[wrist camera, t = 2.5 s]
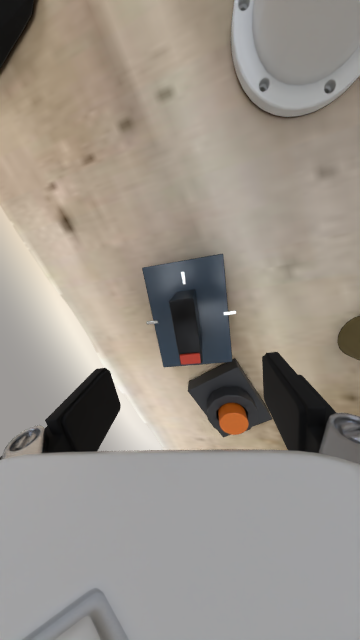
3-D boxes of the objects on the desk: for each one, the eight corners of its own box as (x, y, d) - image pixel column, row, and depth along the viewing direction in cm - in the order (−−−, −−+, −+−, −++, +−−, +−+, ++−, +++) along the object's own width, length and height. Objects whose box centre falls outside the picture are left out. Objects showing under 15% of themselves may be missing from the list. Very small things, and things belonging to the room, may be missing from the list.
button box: (188, 381, 27) (186, 400, 24) (235, 358, 25) (241, 374, 22) (221, 425, 29) (224, 449, 26) (267, 407, 27) (277, 430, 24)
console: (143, 268, 23) (134, 269, 20) (227, 253, 21) (231, 252, 18) (162, 356, 27) (157, 368, 24) (235, 350, 25) (239, 362, 22)
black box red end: (176, 292, 20) (168, 301, 15) (195, 289, 20) (193, 298, 15) (184, 343, 22) (180, 366, 17) (202, 341, 22) (202, 364, 17)
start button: (213, 408, 24) (214, 419, 22) (237, 398, 23) (239, 408, 22) (226, 426, 25) (228, 438, 23) (250, 417, 24) (253, 429, 22)
